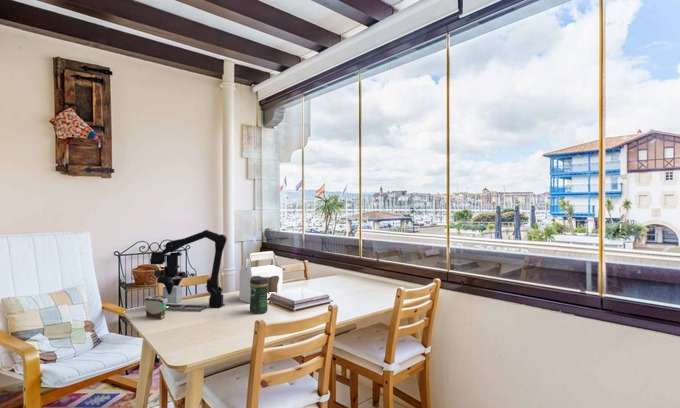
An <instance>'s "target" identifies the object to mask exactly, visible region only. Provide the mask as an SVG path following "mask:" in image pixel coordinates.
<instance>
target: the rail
mask: <svg viewBox="0 0 680 408" xmlns="http://www.w3.org/2000/svg"><path fill="white" fill-rule="evenodd" d="M166 306H169V307H168V308H165V311H167V310H171V311H173V312H192V313H193V312H196V313H197V312H199V313H200V312H202V311H204V310H205V309H207V308H208V305H207V304H206V305H205V304H202V305H201V304H178V303H177V304H174V303H166ZM171 311H170V312H171Z"/></svg>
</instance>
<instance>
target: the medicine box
mask: <svg viewBox="0 0 680 408" xmlns="http://www.w3.org/2000/svg"><path fill="white" fill-rule="evenodd" d="M181 287H182V286H181V285H179V286H173V288H172V292H171V294H168V292H167V289H166V287H165V286H163V287H162V296H166V298H167V300H168V302H166V304H178V303H181V302H182V291H181V290H182V289H181Z"/></svg>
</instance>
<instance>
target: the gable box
mask: <svg viewBox="0 0 680 408" xmlns="http://www.w3.org/2000/svg"><path fill="white" fill-rule="evenodd" d="M277 256H278V255H275V253H274V251H273V250H268V251H259V252H258V251H257V252H250V253H249V255H248V258H245V261H244V262H243V264H242V266H241V268H240V270H239V296H238V297H239V299H240V301H242V300H243V301H242V302H245V303H247V304H250V293H251V287H250V279H251V278H252V277H253V276H261V277H265V278H267V279H268V286H267V293H268V294H267V299H268V298H269V296H270V295H271V294H270V293H269V292H276V293H279V292H282V293H283V274H284V273H283V267H282V265H281V263H280V262H279V260H278V257H277ZM261 260H263V261H264V260H270V264H266V265H261V266H259V265H258V266H252V262H255V261H261Z"/></svg>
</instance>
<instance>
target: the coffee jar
mask: <svg viewBox="0 0 680 408" xmlns="http://www.w3.org/2000/svg"><path fill="white" fill-rule="evenodd" d="M267 286H268V279H267V278H266V277H261V276H253V277H252V278H251V279H250V287H251V293H250V303H249V311H250V312H251V313H253V314H256V315H257V314H260V315H261V314H264V313H266V312H268V301H267Z"/></svg>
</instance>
